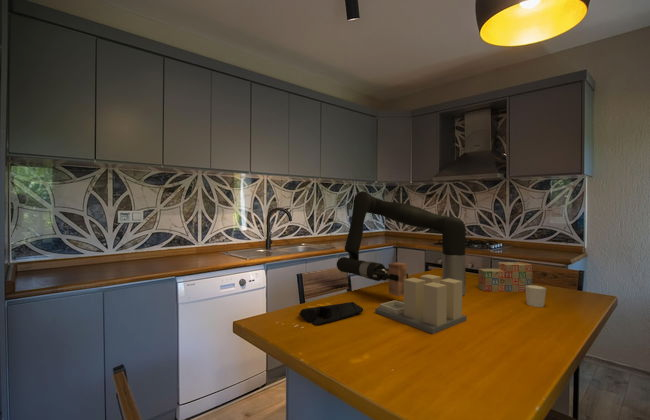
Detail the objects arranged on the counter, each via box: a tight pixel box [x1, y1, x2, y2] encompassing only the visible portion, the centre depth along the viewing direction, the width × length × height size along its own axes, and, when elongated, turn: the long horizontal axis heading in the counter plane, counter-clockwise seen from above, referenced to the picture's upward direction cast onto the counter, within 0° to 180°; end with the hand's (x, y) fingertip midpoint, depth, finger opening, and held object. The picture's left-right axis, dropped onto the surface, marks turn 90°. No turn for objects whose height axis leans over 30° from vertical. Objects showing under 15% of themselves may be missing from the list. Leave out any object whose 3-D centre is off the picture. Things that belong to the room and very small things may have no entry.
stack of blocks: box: [477, 261, 534, 293], centre depth 147 cm, size 21×6×12 cm, turn 90°
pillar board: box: [374, 274, 467, 335], centre depth 112 cm, size 19×24×14 cm
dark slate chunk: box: [298, 301, 364, 326], centre depth 115 cm, size 15×22×5 cm
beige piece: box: [525, 284, 547, 308], centre depth 125 cm, size 7×7×7 cm
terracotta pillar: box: [388, 262, 408, 297], centre depth 129 cm, size 5×5×12 cm
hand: (402, 277), depth 127 cm, fingers closed on terracotta pillar, 5 cm apart
